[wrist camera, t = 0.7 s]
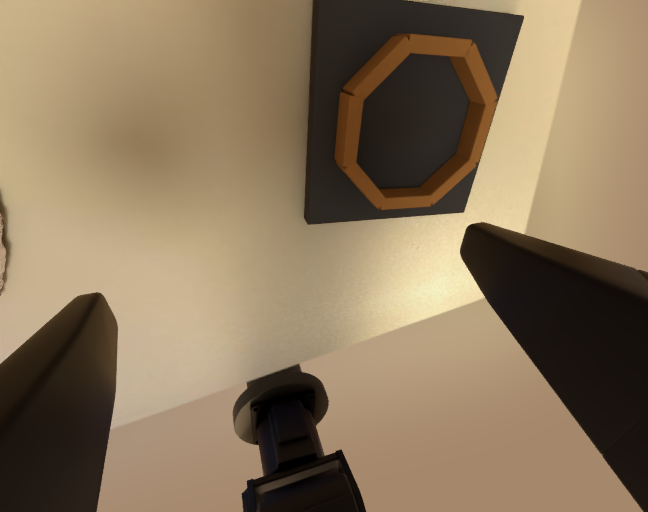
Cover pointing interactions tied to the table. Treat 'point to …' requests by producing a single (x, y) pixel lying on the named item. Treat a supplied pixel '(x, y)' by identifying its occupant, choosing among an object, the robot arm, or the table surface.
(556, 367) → the robot arm
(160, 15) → the table surface
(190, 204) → the table surface
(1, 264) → the arrowhead
